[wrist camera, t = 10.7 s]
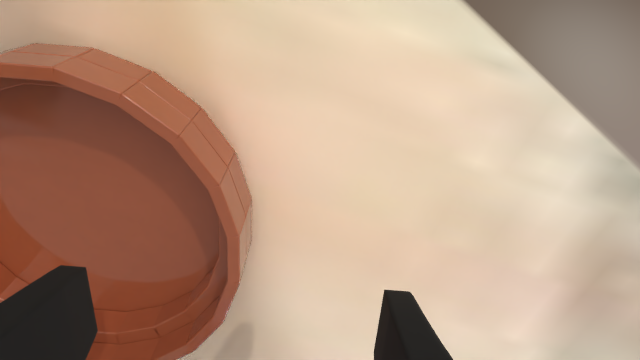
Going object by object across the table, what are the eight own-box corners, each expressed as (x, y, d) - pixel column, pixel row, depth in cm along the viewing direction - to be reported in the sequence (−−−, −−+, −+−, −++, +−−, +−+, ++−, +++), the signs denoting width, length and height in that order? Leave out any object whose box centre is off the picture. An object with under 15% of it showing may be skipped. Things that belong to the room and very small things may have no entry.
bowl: (252, 330, 24) (240, 387, 21) (-20, 309, 24) (-72, 363, 21) (255, 57, 18) (238, 81, 15) (-113, 27, 18) (-206, 46, 15)
